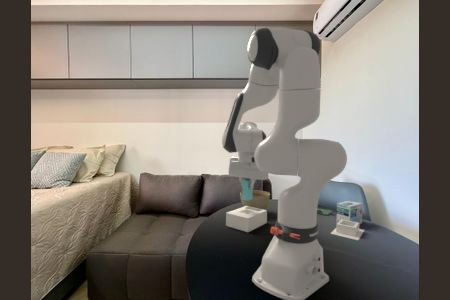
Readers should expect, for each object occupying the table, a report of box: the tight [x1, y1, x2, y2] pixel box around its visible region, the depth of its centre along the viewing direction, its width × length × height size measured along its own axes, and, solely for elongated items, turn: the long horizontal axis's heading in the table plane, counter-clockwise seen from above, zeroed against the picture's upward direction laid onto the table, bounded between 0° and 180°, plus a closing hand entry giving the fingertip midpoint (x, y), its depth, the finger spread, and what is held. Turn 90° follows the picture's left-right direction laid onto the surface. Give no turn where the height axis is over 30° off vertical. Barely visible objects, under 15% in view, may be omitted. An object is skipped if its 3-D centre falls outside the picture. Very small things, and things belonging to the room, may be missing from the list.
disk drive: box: [317, 207, 334, 217], centre depth 126 cm, size 10×3×15 cm
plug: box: [241, 178, 254, 201], centre depth 108 cm, size 4×3×12 cm
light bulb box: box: [336, 200, 364, 225], centre depth 108 cm, size 11×7×11 cm, turn 123°
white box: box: [225, 206, 268, 233], centre depth 108 cm, size 16×12×6 cm
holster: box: [330, 219, 365, 241], centre depth 96 cm, size 14×10×5 cm
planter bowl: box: [239, 189, 271, 210], centre depth 126 cm, size 16×16×11 cm
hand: (247, 187), depth 108 cm, fingers closed on plug, 3 cm apart
